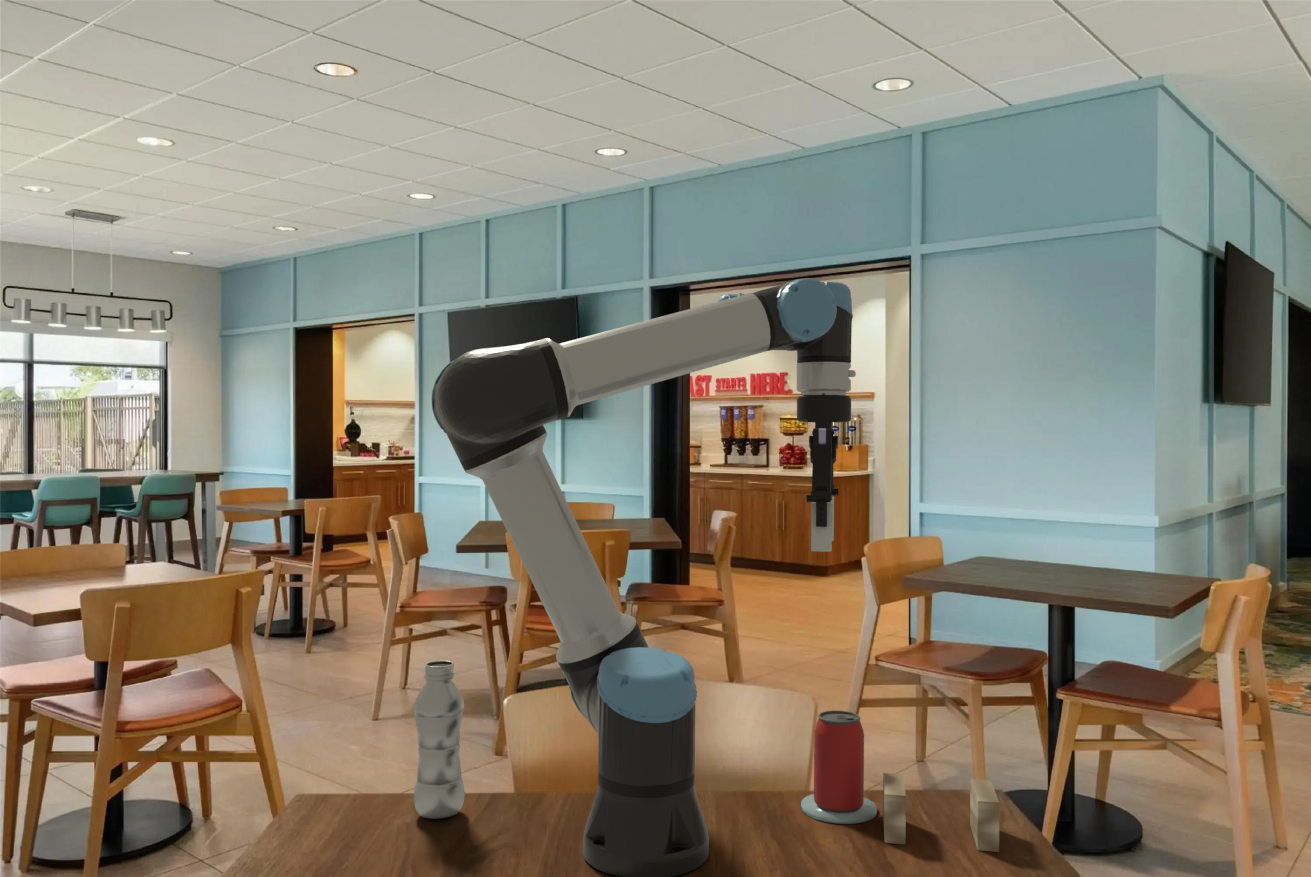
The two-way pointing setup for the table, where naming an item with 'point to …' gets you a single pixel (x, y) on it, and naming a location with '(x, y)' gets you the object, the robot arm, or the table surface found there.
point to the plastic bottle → (439, 743)
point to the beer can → (839, 761)
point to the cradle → (981, 812)
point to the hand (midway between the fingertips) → (822, 546)
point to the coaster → (857, 816)
